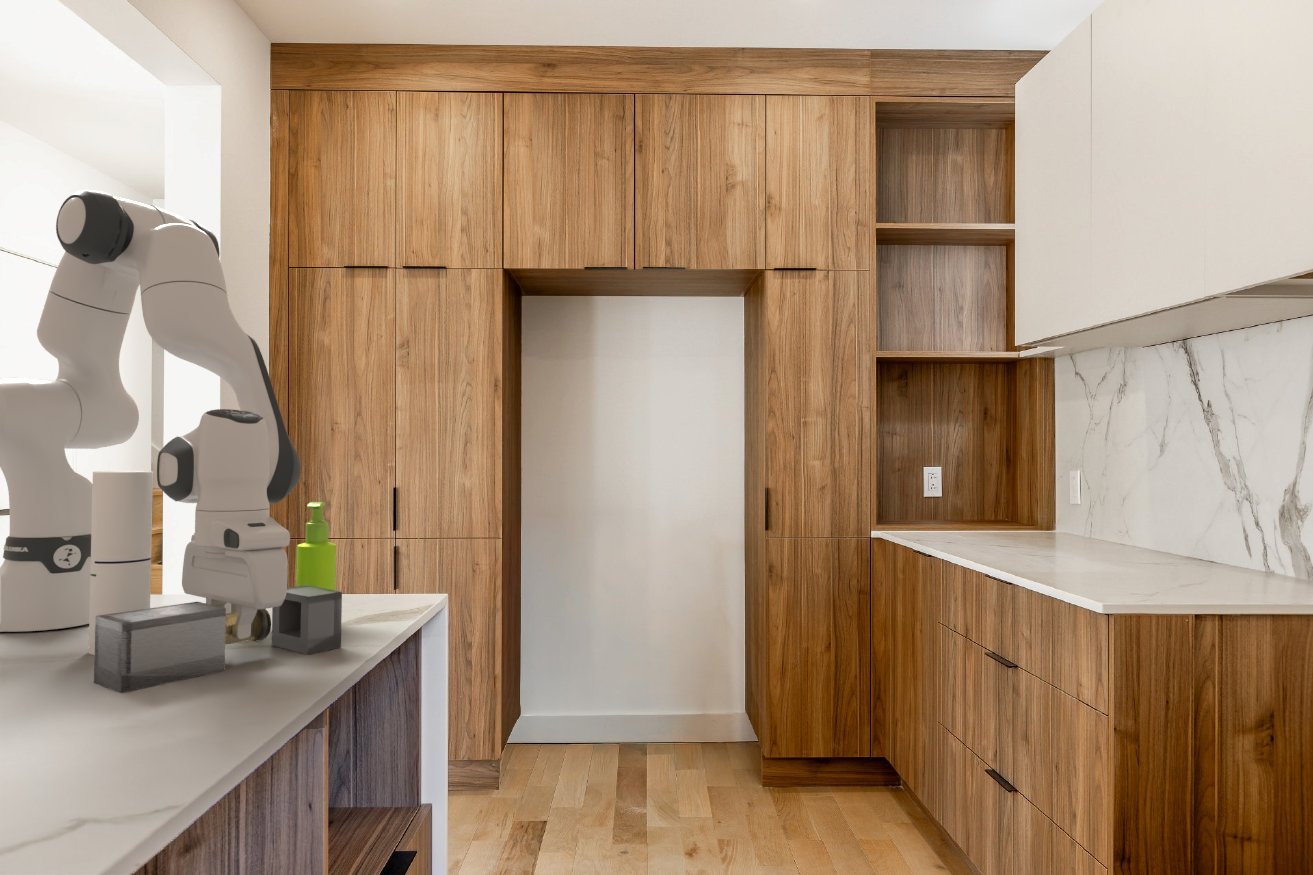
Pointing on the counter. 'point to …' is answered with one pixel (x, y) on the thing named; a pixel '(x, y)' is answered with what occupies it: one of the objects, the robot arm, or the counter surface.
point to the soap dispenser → (316, 553)
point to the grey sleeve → (159, 645)
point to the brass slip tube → (258, 627)
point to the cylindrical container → (120, 544)
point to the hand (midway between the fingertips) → (230, 634)
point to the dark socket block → (308, 620)
